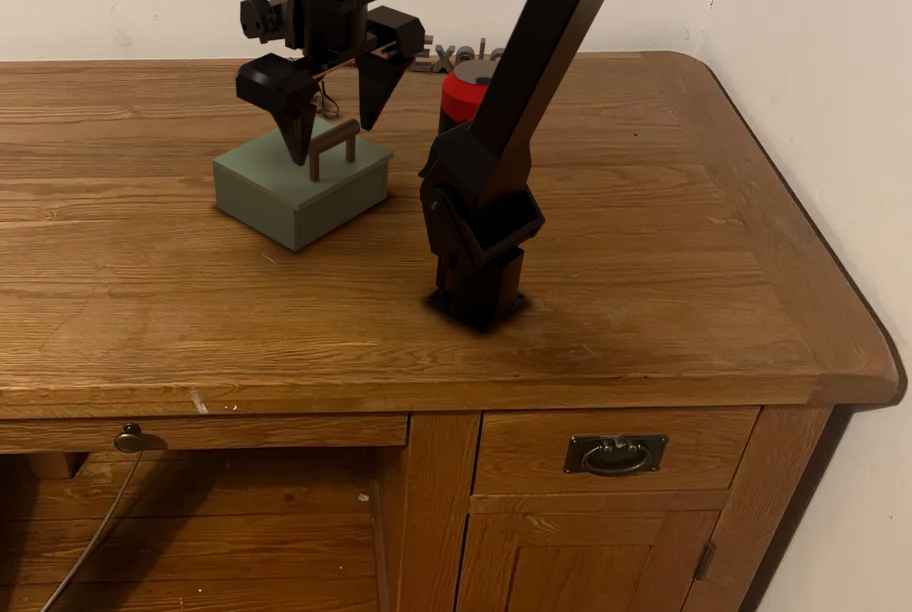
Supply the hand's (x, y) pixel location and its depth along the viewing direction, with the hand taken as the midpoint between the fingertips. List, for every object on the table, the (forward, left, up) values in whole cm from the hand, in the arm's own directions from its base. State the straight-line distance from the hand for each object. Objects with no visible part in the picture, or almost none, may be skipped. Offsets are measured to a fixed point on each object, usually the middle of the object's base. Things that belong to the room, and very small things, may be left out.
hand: (333, 146), depth 86 cm
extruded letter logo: (+15, -33, -8) cm, 37 cm away
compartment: (+4, 0, -8) cm, 9 cm away
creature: (+18, -15, -8) cm, 25 cm away
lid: (+4, 0, -3) cm, 5 cm away
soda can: (-6, -15, -8) cm, 18 cm away
